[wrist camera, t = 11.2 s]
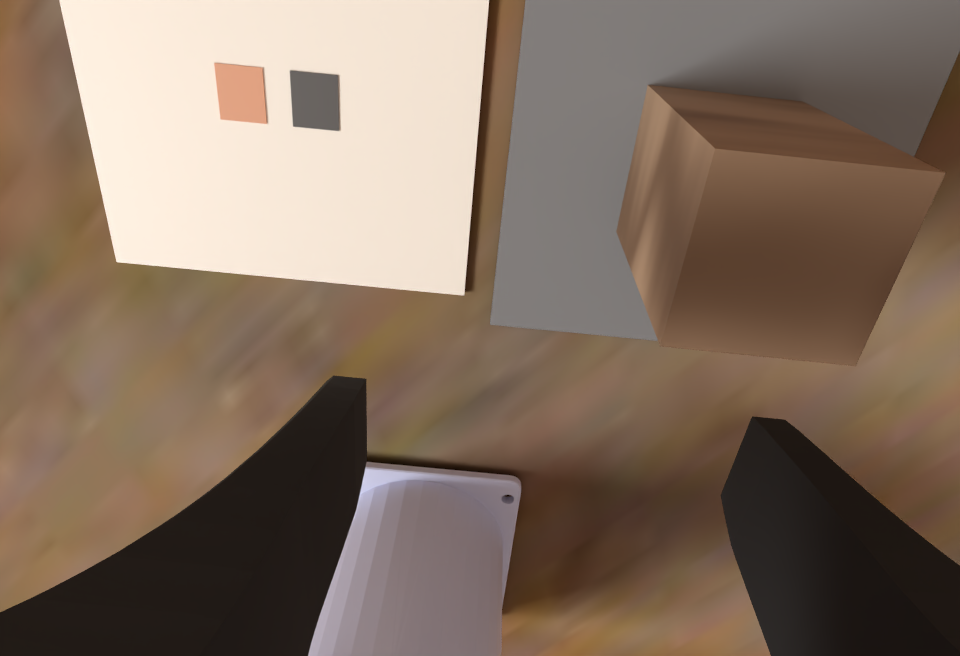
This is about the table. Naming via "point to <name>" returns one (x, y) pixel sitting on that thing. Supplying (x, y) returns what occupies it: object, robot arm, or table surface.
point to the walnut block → (766, 224)
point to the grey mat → (687, 65)
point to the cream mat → (286, 134)
